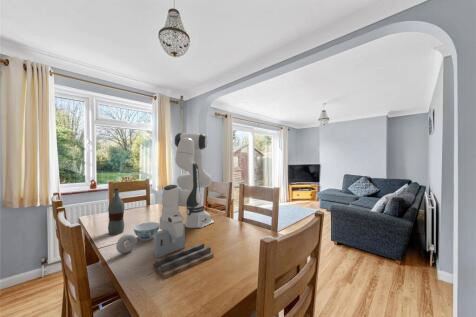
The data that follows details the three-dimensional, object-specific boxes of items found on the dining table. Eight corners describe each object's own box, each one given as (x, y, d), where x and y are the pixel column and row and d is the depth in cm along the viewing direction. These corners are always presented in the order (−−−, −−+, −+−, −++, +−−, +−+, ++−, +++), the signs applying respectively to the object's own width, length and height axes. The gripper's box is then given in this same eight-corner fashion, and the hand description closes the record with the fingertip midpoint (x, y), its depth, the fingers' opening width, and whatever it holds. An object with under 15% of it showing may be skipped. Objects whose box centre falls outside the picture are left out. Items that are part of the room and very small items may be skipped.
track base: (200, 248, 109) (200, 241, 109) (213, 256, 100) (213, 248, 101) (152, 267, 90) (152, 258, 90) (164, 278, 82) (164, 269, 82)
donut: (117, 257, 99) (117, 237, 99) (115, 255, 101) (115, 236, 101) (137, 250, 107) (137, 232, 107) (134, 248, 109) (135, 230, 109)
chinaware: (149, 244, 114) (149, 231, 114) (127, 242, 117) (127, 229, 117) (164, 234, 129) (164, 223, 129) (144, 232, 132) (144, 221, 132)
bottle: (123, 229, 138) (124, 187, 138) (124, 233, 131) (124, 188, 131) (108, 232, 133) (108, 188, 133) (107, 236, 126) (108, 189, 126)
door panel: (182, 246, 112) (182, 225, 112) (185, 247, 110) (185, 226, 110) (154, 256, 101) (154, 232, 101) (157, 258, 99) (157, 234, 99)
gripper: (156, 212, 111) (156, 237, 111) (174, 221, 97) (174, 249, 97) (167, 210, 115) (167, 234, 115) (185, 218, 101) (185, 245, 101)
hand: (170, 241), depth 106 cm, fingers open, 4 cm apart
